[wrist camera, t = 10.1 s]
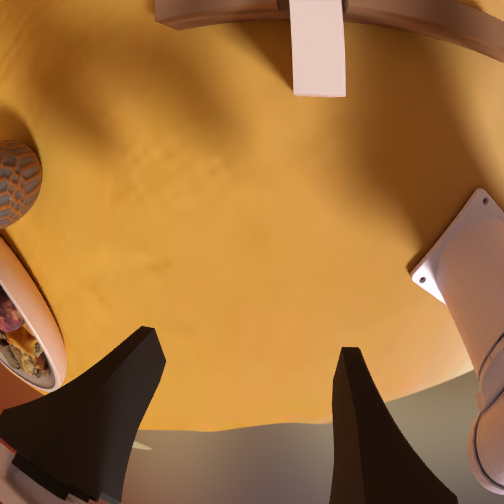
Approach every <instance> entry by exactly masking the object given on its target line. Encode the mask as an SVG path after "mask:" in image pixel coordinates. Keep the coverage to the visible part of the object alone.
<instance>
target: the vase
mask: <svg viewBox="0 0 504 504" xmlns="http://www.w3.org/2000/svg"><path fill="white" fill-rule="evenodd" d="M41 182H42V169H41V164H40V161H39V159H38V157H37V155H36V154H35V153H34V151H33V150H32V149H31V148H30V147H28V146H27V145H25V144H24V143H22V142H19V141H12V140H7V141H0V229H3V228H6V227H8V226H10V225H12V224H13V223H15V222H16V221H18V220H19V219H20V218H22V217H23V216H24V215H25V214H26V213H27V212H28V211H29V210H30V208H31V207H32V206H33V204H34V203H35V201H36V199H37V197H38V194H39V191H40V187H41Z"/></svg>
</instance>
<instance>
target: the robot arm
mask: <svg viewBox="0 0 504 504" xmlns="http://www.w3.org/2000/svg"><path fill="white" fill-rule="evenodd" d="M484 198H486V200H485V202H484V203H483V199H484ZM410 276H411V279H412V281H413V282H415V283H416V284H417V285H419V286H420V287H422V288H423V289H425V290H426V291H427V292H429V293H430V294H432V295H433V296H434V297H436V298H437V299H438V300H440V301H441V302H443V303H444V304H445V305H447V307H448V309H449V311H450V313H451V315H452V317H453V320H454V322H455V324H456V326H457V328H458V331H459V333H460V335H461V337H462V340H463V342H464V344H465V347H466V349H467V352H468V354H469V357H470V359H471V362H472V364H473V367H474V369H475V372H476V375H477V378H478V380H479V383H480V390H479V392H478V394H477V395H476V400H477V404H478V407H479V411H480V413H479V414H478V415H477V417H476V418H475V420H474V422H473V424H472V426H471V429H470V432H469V436H468V445H467V450H468V459H469V464H470V466H471V469H472V472H473V474H474V476H475V477H476V479H477V480H478V481H479V483H480V484H481V485H483V486H484V487H485V488H486V489H488V490H490V491H491V492H495V493H498V494H502V495H504V212H503V211H502V210H501V209H500V207H499V206H498V205H497V204H496V203H495V201H494V200H493V199H492V198H491V197H490V195H489V194H488V193H487V192H486V191H485V190H484V189H482V188H477V189H476V190H475V191H474V193H473V194H472V196H471V197H470V199H469V200H468V201H467V203H466V204H465V206H464V207H463V208H462V210H461V211H460V212H459V214H458V215H457V217H456V218H455V219H454V220H453V222H452V223H451V224H450V226H449V227H448V228H447V230H446V231H445V232H444V233H443V235H442V236H441V237H440V238H439V240H438V241H437V242H436V243H435V245H434V246H433V247H432V248H431V249H430V251H429V252H428V253H427V254H426V255H425V257H424V258H423V259H422V260H421V261H420V262H419V264H418V265H417V266H416V267H415V268H414V269H413V270H412V272H411V275H410ZM422 277H424V279H422V280H420V278H422ZM165 363H166V359H165V356H164V354H163V351H162V348H161V345H160V342H159V340H158V337H157V334H156V331H155V328H150V327H145V326H141V327H140V328H139V329H137V330H136V331H135V332H134V333H133V334H131V335H130V336H129V337H128V338H127V339H126V340H124V341H123V342H122V343H121V344H120V345H119V346H117V347H116V348H115V349H114V350H113V351H111V352H110V353H109V354H108V355H106V356H105V357H104V358H103V359H102V360H100V361H99V362H98V363H96V364H95V365H94V366H92V367H91V368H90V369H88V370H87V371H86V372H84V373H83V374H81V375H80V376H79V377H77V378H76V379H74V380H72V381H71V382H69V383H68V384H66V385H64V386H62V387H61V388H59V389H57V390H55V391H53V392H51V393H49V394H47V395H45V396H43V397H40V398H38V399H36V400H33V401H31V402H28V403H25V404H22V405H19V406H16V407H13V408H9V409H5V410H3V412H2V414H1V415H0V438H1V439H3V440H4V441H5V442H6V443H7V444H8V445H9V446H11V447H12V448H13V449H14V450H16V451H17V453H16V455H15V454H13V453H12V452H11V451H10V450H9V449H7V448H6V447H5V446H4V445H3V444H1V443H0V500H1V502H2V503H3V504H88V501H89V499H91V500H93V501H95V502H97V501H98V499H99V498H100V499H103V500H105V501H107V502H109V503H111V504H119V503H121V498H122V490H123V483H124V478H125V473H126V469H127V464H128V460H129V456H130V453H131V449H132V446H133V442H134V439H135V436H136V433H137V430H138V428H139V425H140V423H141V421H142V419H143V416H144V414H145V412H146V410H147V408H148V406H149V404H150V402H151V400H152V397H153V395H154V393H155V391H156V389H157V387H158V384H159V382H160V379H161V376H162V373H163V370H164V367H165ZM332 413H333V433H334V468H333V479H332V487H331V495H330V502H329V504H458V500H457V496H456V495H455V494H454V493H453V492H451V491H450V490H449V489H448V488H447V487H446V486H445V485H444V484H443V483H442V482H441V481H440V480H439V479H438V478H437V477H436V476H435V475H434V474H433V473H432V471H431V470H430V469H429V468H428V467H427V466H426V465H425V463H424V462H423V461H422V460H421V458H420V457H419V456H418V455H417V453H416V452H415V451H414V450H413V448H412V447H411V446H410V444H409V443H408V441H407V440H406V439H405V437H404V436H403V434H402V433H401V431H400V429H399V428H398V426H397V425H396V423H395V421H394V420H393V418H392V416H391V415H390V413H389V411H388V409H387V407H386V406H385V404H384V402H383V400H382V398H381V396H380V394H379V392H378V390H377V388H376V386H375V384H374V382H373V379H372V377H371V375H370V373H369V370H368V368H367V366H366V363H365V361H364V358H363V356H362V353H361V350H360V349H359V348H358V347H342V348H341V352H340V356H339V360H338V364H337V368H336V371H335V375H334V378H333V393H332Z"/></svg>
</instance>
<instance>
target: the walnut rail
mask: <svg viewBox="0 0 504 504" xmlns="http://www.w3.org/2000/svg"><path fill="white" fill-rule="evenodd" d="M341 3H342V15H343V21H345V22H355V23H363V24H370V25H377V26H383V27H389V28H394V29H399V30H404V31H409V32H413V33H417V34H421V35H425V36H429V37H433V38H437V39H440V40H443V41H447V42H450V43H453V44H456V45H459V46H462V47H465V48H468V49H471V50H474V51H476V52H479V53H481V54H484V55H486V56H489V57H491V58H494V59H496V60H498V61H501V62H504V22H503V21H501V20H499V19H497V18H495V17H493V16H491V15H489V14H487V13H484V12H482V11H480V10H477V9H475V8H473V7H470V6H468V5H465V4H463V3H460V2H457V1H455V0H341ZM269 19H290V3H289V0H155V21H156V22H158V23H161V24H163V25H166V26H168V27H171V28H173V29H176V30H178V31H179V30H184V29H189V28H195V27H201V26H207V25H214V24H221V23H230V22H239V21H251V20H269Z"/></svg>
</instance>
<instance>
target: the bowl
mask: <svg viewBox="0 0 504 504" xmlns="http://www.w3.org/2000/svg"><path fill="white" fill-rule="evenodd" d="M0 362H1V363H2V364H4V365H5V366H6V367H7V368H8V369H9V370H10V371H12V372H13V373H14V374H15V375H17V376H18V377H19V378H21V379H22V380H24V381H25V382H27V383H29V384H30V385H32V386H34V387H36V388H38V389H41V390H43V391H47V392H53V391H55V390H57V389H59V388H60V386H61V385H62V383H63V381H64V378H65V375H66V371H67V356H66V350H65V346H64V343H63V339H62V336H61V334H60V331H59V329H58V326H57V324H56V322H55V320H54V318H53V315H52V314H51V312H50V310H49V308H48V306H47V304H46V302H45V300H44V299H43V297H42V295H41V293H40V292H39V290H38V288H37V287H36V285H35V283H34V282H33V280H32V279H31V277H30V276H29V274H28V273H27V271H26V270H25V268H24V267H23V265H22V264H21V262H20V261H19V260H18V258H17V257H16V255H15V254H14V253H13V251H12V250H11V249H10V248H9V246H8V245H7V244H6V243H5V241H4V240H3V239H2V238H1V237H0Z"/></svg>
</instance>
